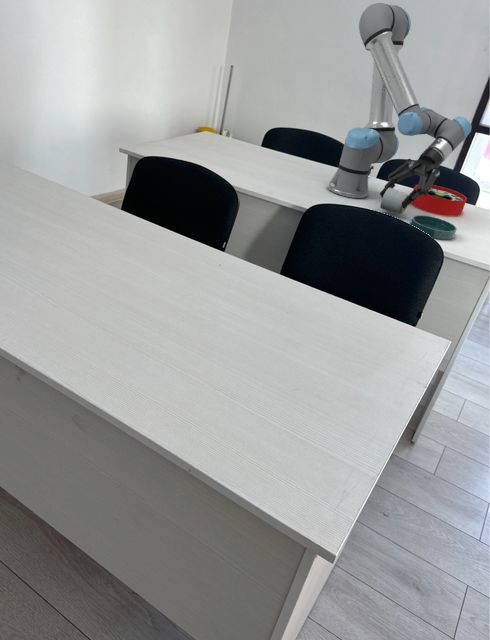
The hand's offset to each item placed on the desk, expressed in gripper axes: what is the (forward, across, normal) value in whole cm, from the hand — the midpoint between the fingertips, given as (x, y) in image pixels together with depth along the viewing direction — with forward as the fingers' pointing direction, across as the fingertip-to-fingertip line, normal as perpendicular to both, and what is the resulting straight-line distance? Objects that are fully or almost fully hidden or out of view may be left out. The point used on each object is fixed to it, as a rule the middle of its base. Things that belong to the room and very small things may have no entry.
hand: (392, 200), depth 206 cm
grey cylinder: (+1, -1, +5) cm, 5 cm away
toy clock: (-19, -3, +26) cm, 33 cm away
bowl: (+1, +16, +7) cm, 18 cm away
